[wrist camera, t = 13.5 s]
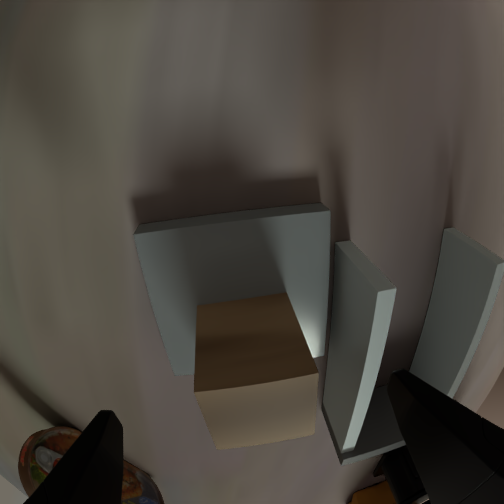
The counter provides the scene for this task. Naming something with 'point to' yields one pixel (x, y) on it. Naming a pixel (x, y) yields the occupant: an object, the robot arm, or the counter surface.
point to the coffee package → (374, 495)
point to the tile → (236, 269)
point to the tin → (51, 451)
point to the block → (254, 372)
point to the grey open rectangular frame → (376, 330)
